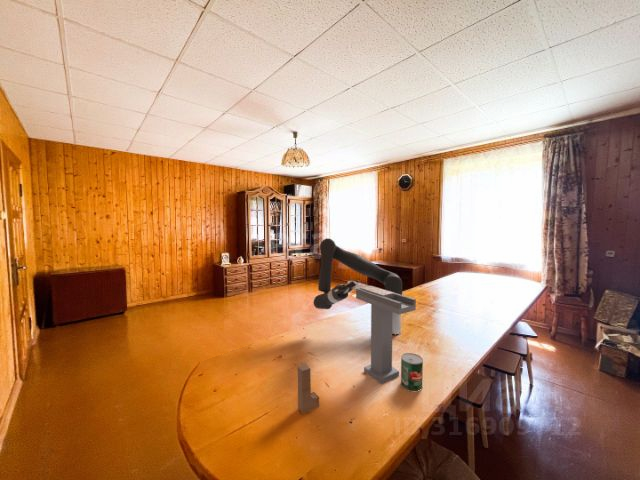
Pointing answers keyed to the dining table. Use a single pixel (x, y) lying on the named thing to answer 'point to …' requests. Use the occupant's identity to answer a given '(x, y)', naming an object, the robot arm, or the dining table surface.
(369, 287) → the block
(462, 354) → the dining table surface
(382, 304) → the stand
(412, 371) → the canned tomato
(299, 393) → the l-shaped bracket
